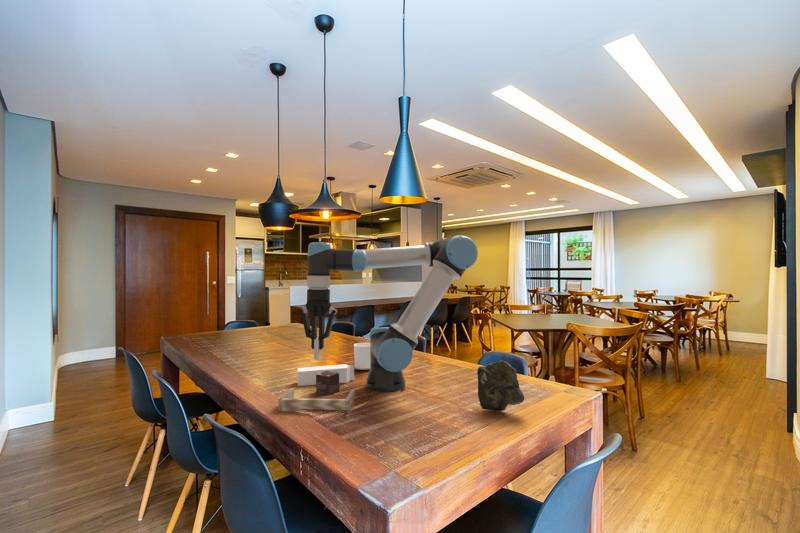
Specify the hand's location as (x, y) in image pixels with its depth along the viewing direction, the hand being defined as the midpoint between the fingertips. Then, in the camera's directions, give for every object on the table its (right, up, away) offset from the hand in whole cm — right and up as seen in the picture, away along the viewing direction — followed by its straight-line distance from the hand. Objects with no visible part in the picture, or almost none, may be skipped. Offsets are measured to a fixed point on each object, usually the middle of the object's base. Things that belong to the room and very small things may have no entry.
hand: (317, 358), depth 129 cm
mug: (+12, -15, +45) cm, 49 cm away
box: (+2, -15, +10) cm, 18 cm away
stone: (+60, -15, -7) cm, 62 cm away
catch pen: (+1, -15, -2) cm, 15 cm away
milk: (-12, -12, +20) cm, 26 cm away
